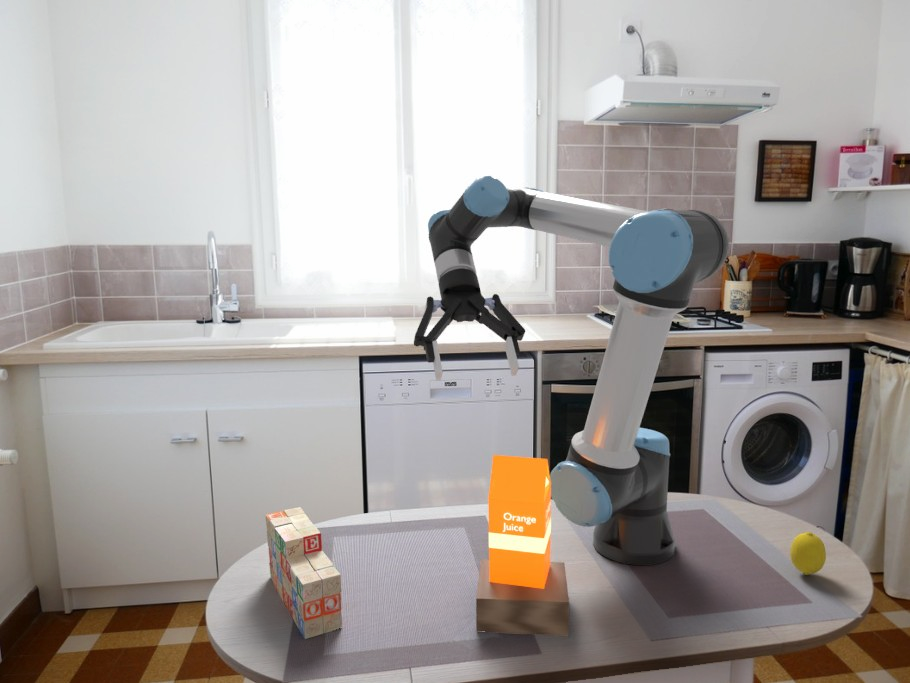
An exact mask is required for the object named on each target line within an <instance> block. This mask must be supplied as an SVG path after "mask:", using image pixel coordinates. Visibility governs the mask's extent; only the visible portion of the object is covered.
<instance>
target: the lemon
mask: <svg viewBox="0 0 910 683" xmlns="http://www.w3.org/2000/svg"><path fill="white" fill-rule="evenodd" d="M789 551H790V552H789V553H790V554H789V555H790V560H791V562H792V565H793V566H794V567H795V568H796V569H797V570H798V571H799V572H802V573H803V574H804V575H805V576H809V575H810V574H815V573H817V572H819V571H821V569H822V568H823V567H824V565H825V564H826V559H827V553H826V551H827V550H826V547H825V543H824V542H823V540H822V539H821V538H820V537H819V536H818V535H816V534H814V533H813V532H811V531H807V532H803V533H799V534H798V535H796V536H795V537H794V538H793V539H792V542H791V546H790V550H789Z"/></svg>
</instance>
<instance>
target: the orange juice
mask: <svg viewBox="0 0 910 683" xmlns="http://www.w3.org/2000/svg"><path fill="white" fill-rule="evenodd" d="M491 462H492V464H491V465H492V466H491V472H490V482H489V490H488V497H487V498H488V499H487V500H488V504H487V505H488V560H489V578H490V582H494V583H502V584H510V585H518V586H526V587H534V588H542V589H544V587H545V583H546V579H547V575H548V571H549V568H550V562H551V541H552V540H551V539H552V538H551V536H552V535H551V534H552V532H551V531H552V514H551V513H552V511H551V509H552V508H551V507H552V497H551V482H550V470H549V468H550V467H549V462H548V458H537V457H528V456H527V457H525V456H513V455H512V456H511V455H503V454H502V455H498V454H493V455H492V461H491Z"/></svg>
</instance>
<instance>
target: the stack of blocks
mask: <svg viewBox="0 0 910 683" xmlns="http://www.w3.org/2000/svg"><path fill="white" fill-rule="evenodd" d="M265 525H266V536H267V537H266V539H267V546H268V557H269V558H268V559H269V573H270V574H269V575H270V579H271V581H272V582H273V584H274V587H275V589H276V591H277V593H278V595H279V597H280V599H281V601H282V602H284V604H285V606H286V609H287V610H288V611H289V613H290V614H291V616H292V618H293V621H294V623H295V625H296V626H297V629H299V633H300V634H301V635H302V637H303V639H304V640H307V639H311V638H313V637H317V636H320V635H323V634H327V633H330V632H333V630H334V631H337V630H340V629H342V628H343V617H342V611H343V610H342V595H341V594H342V593H341V592H342V575H341V573H340V571H339V570H338V569H337V568H336V567H335V565H334V563H333V562H332V560H330V558H329V557H328V556H327V554H326V553H325V552H324V551H323V546H322V532H320V530H319V529H318V528H317V527H316V526H315V524H314V523H313V522H312V521H311V520H310V518H309V517H308V515H307V514H306V513H305V511H304V510H303V509H302V507H300V506H299V507H293V508H289V509H284V510H279V511H275V512H271V513H270V512H269V513H267V514H265ZM341 627H342V628H341ZM339 628H340V629H339ZM336 629H337V630H336Z"/></svg>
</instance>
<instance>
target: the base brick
mask: <svg viewBox="0 0 910 683" xmlns="http://www.w3.org/2000/svg"><path fill="white" fill-rule="evenodd" d="M477 579H478V580H477V588H476V598H475V602H476V604H475V606H476V607H475V609H476V610H475V614H476V615H475V616H476V618H475V619H476V620H475V621H476V622H475V624H476V629H475V630H476V631H485V632H484V633H489V632H493V633H494V634H512V635H514V634H515V635H516V634H517V635H535V636H536V635H538V636H557V637H559V636H560V637H561V636H563V637H569V633H570V630H569V628H570V626H569V624H570V621H569V620H570V619H569V618H570V597H569V591H568V582H567V572H566V566H565V561H563V562H562V561H559V562H558V561H550V568H549V571H548V575H547V579H546V583H545V587H544V589H542V588H534V587H526V586H518V585H510V584H502V583H494V582H490V578H489V559H480V563H479V572H478V578H477Z"/></svg>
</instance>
